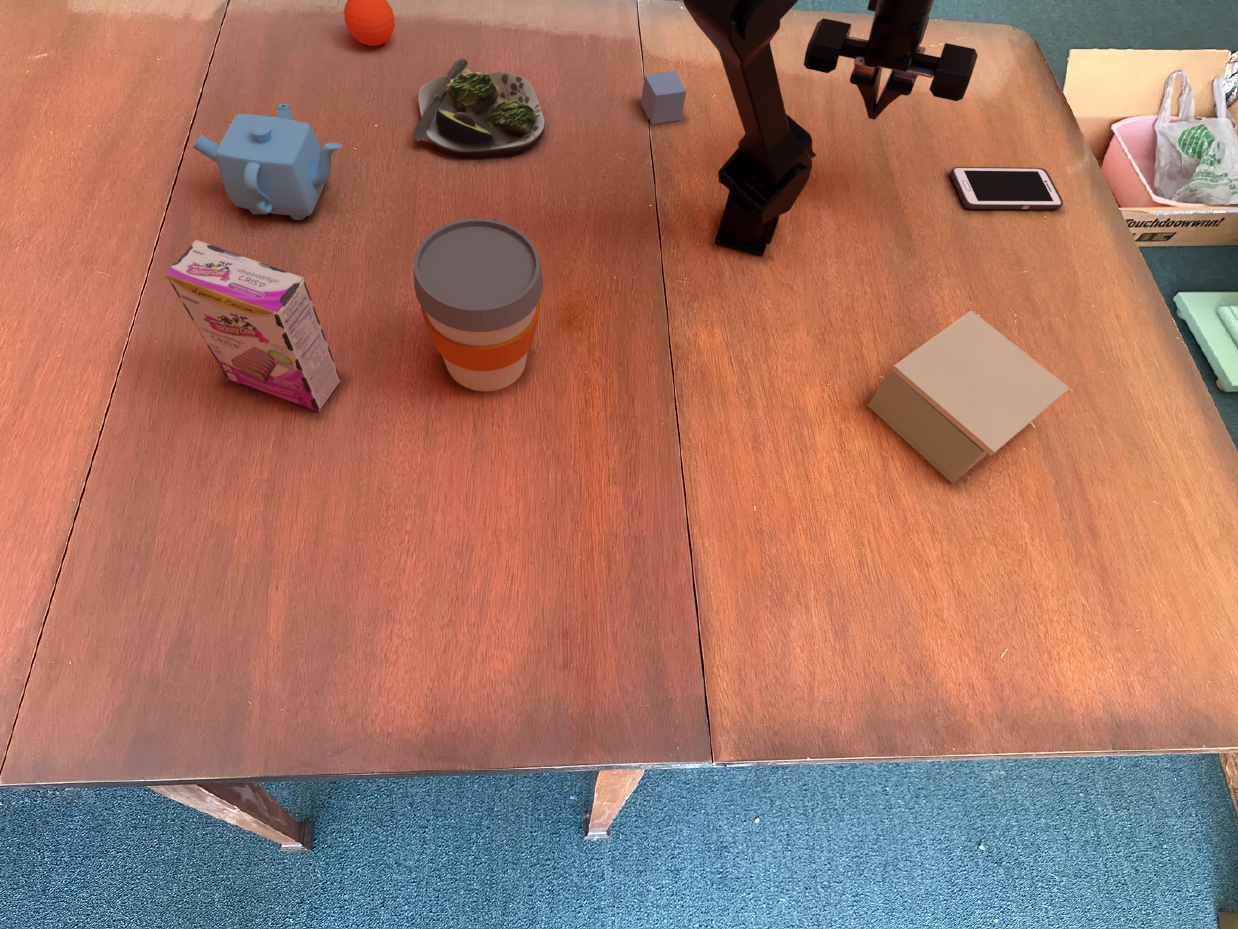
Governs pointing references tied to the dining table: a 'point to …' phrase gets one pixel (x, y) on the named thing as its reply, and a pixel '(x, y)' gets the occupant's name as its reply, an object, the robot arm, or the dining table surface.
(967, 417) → the lid
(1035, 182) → the cell phone
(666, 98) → the block
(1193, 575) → the dining table surface
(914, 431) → the chest
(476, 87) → the avocado toast plate
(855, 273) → the dining table surface
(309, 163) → the teapot
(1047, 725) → the dining table surface
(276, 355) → the candy bar box
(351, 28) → the clementine
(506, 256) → the reusable coffee cup
